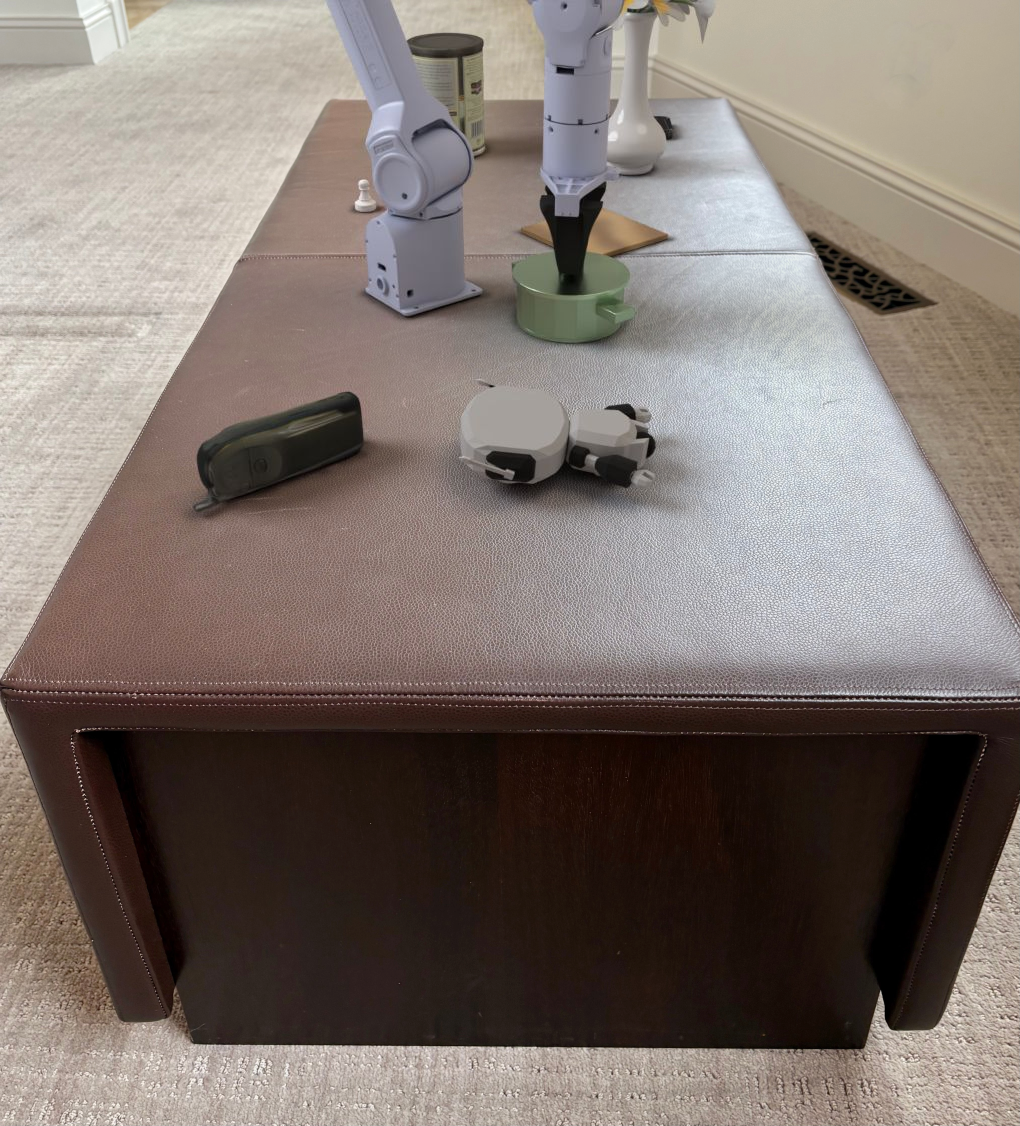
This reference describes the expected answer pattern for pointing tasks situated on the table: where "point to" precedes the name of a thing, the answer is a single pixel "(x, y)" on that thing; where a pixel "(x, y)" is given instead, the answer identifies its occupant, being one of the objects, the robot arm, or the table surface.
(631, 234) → the trivet
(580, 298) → the pot lid
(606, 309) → the pot
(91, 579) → the table surface
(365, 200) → the chess pawn
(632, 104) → the flower vase
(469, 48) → the coffee can
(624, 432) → the robot toy
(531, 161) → the table surface
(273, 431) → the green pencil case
